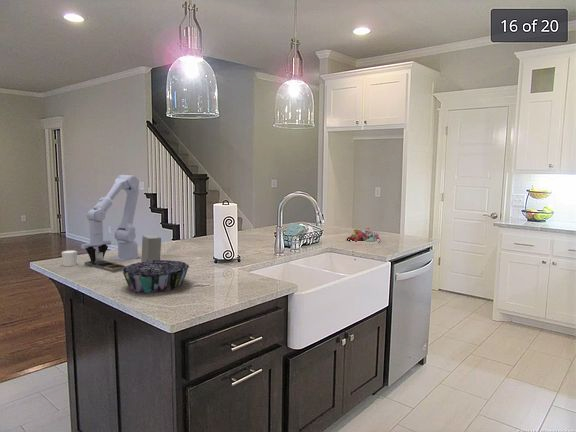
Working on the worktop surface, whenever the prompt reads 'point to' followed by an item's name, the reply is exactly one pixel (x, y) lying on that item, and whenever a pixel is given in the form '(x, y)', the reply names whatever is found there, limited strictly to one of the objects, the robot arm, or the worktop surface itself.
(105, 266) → the silver divided tray
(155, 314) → the worktop surface
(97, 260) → the brushed steel square tube
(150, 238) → the skincare box
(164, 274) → the decorative bowl
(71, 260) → the white cup
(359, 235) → the multicoloured flower wreath
